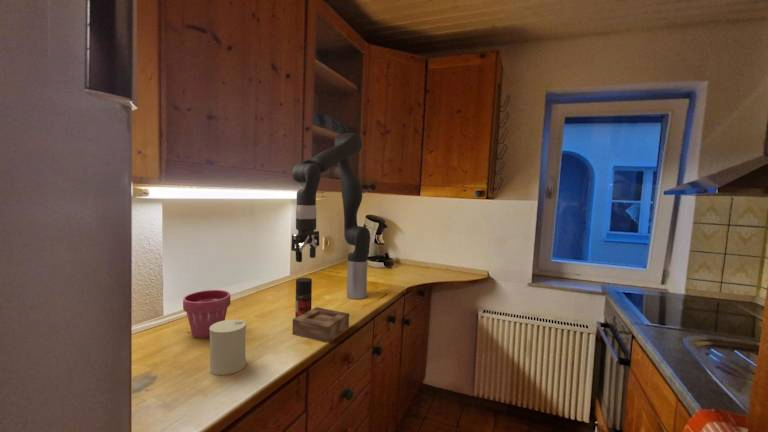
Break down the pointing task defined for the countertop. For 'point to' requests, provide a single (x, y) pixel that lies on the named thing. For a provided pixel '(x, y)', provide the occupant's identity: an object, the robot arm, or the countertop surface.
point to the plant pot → (205, 310)
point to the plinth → (321, 324)
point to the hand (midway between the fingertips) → (305, 259)
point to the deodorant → (303, 295)
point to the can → (227, 346)
